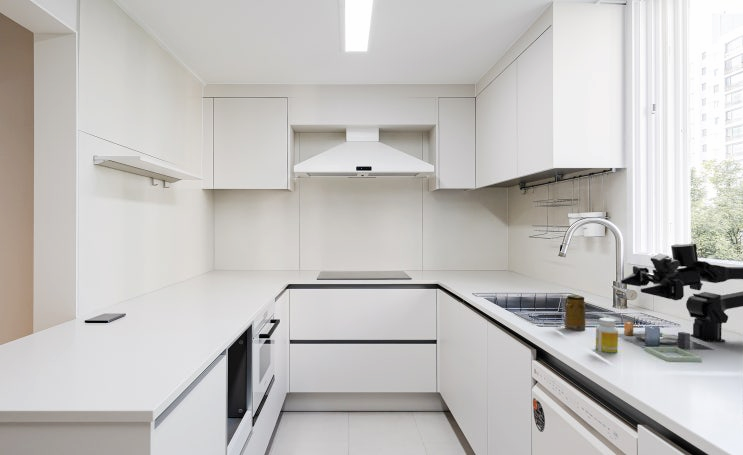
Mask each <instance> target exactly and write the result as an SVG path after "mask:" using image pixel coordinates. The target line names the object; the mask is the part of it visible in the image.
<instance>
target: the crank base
mask: <svg viewBox="0 0 743 455" xmlns="http://www.w3.org/2000/svg"><path fill="white" fill-rule="evenodd" d="M671 335H672V336H675V337H677V338H678V343H673V344H666V343H660V347H677V348H680V349H682V350H684V351H688V350H689V351H690V350H692V351H693V350H695V351H703V350H704V351H715V349H714V348H711V347H709V346H706V345H703V344H700V343H698V342H695V341H692V340H691V336H690V335H691V333H688V332H685V331H678V332H677V334H671ZM618 338H621V339H623V340H624V341H627V342H629V343H632V344H633V345H635V346H637V347H640V348H642V349H644V350H645V347H647V346H645V340H642V339H639V338H637V337H636V336H632V337H630V336H625V335H624V333H618Z"/></svg>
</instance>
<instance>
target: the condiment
mask: <svg viewBox="0 0 743 455" xmlns="http://www.w3.org/2000/svg"><path fill="white" fill-rule="evenodd" d="M566 297H567V298H566V299H567V300H566V304H565V324H564V325H565V329H566V330H567V331H568V330H569V331H573V332H584V331H586V305H585V297H584V296H582V295H572V294H571V295H567V296H566Z"/></svg>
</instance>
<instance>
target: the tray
mask: <svg viewBox="0 0 743 455" xmlns="http://www.w3.org/2000/svg"><path fill="white" fill-rule="evenodd" d="M644 351H645V352H647V353H649V354H651V355H653V356H655V357H658V358H659V359H662V360H663V361H666V362H697V363H698V362H699V363H700V362H702V360H703V357H702V356H699V355H696V354H695V353H692V352H690V351H688V350H685V349H680V348H677V347H645V349H644ZM662 352H664V353H666V352H670V353H678V354H679V355H680V356H675V355H672V356H671V355H670V356H668V355H666V354H664V353H662ZM681 355H682V356H681Z"/></svg>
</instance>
